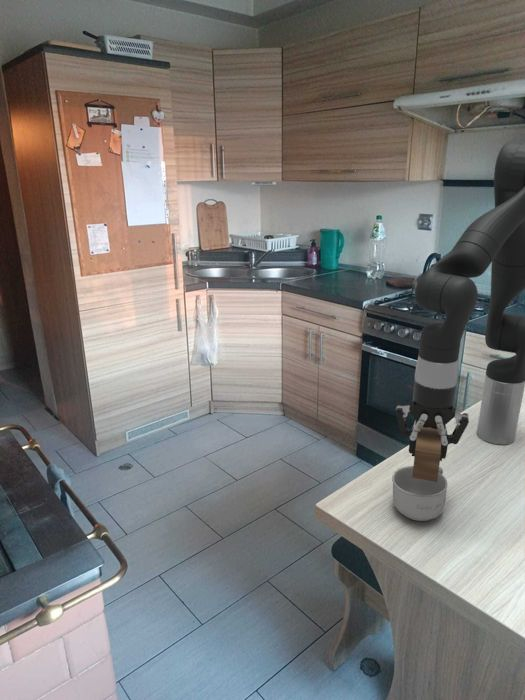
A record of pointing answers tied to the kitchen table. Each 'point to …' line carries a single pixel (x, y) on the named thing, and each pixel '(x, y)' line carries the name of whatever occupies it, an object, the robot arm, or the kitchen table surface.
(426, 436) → the walnut beam
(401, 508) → the teacup
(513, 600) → the kitchen table surface
